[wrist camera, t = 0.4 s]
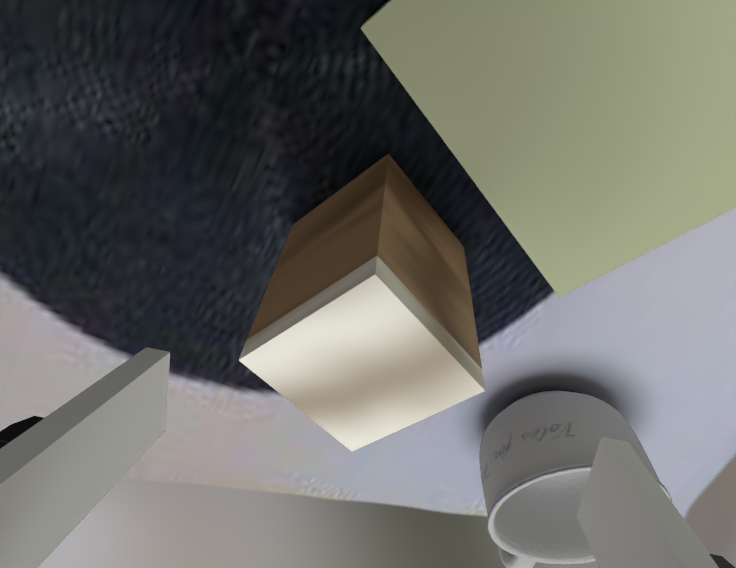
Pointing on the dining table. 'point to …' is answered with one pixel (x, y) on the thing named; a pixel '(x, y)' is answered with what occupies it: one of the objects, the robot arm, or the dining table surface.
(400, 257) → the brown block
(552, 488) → the teacup
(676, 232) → the olive mat
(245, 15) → the dining table surface
